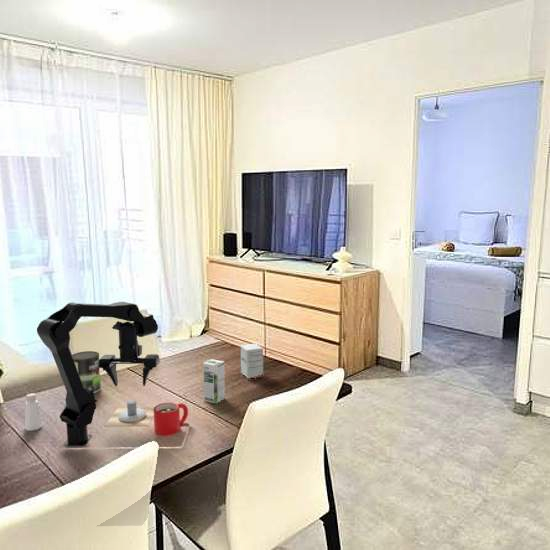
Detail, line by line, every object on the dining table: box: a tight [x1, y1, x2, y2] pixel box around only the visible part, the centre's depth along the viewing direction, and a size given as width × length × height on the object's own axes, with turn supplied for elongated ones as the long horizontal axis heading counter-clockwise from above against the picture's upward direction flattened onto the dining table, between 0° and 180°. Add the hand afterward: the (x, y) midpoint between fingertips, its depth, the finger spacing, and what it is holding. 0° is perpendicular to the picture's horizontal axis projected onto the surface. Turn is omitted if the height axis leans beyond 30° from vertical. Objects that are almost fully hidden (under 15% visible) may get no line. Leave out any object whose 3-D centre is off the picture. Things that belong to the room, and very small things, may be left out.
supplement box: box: [240, 343, 264, 378], centre depth 198 cm, size 7×7×13 cm
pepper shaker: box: [24, 392, 43, 432], centre depth 154 cm, size 5×5×11 cm
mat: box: [104, 406, 155, 427], centre depth 161 cm, size 14×14×1 cm
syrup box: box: [202, 358, 226, 405], centre depth 174 cm, size 6×6×14 cm
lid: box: [118, 400, 146, 422], centre depth 161 cm, size 9×9×5 cm
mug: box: [153, 402, 189, 437], centre depth 153 cm, size 8×12×8 cm, turn 140°
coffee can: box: [71, 350, 102, 394], centre depth 183 cm, size 10×10×14 cm
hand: (130, 385), depth 159 cm, fingers open, 9 cm apart
